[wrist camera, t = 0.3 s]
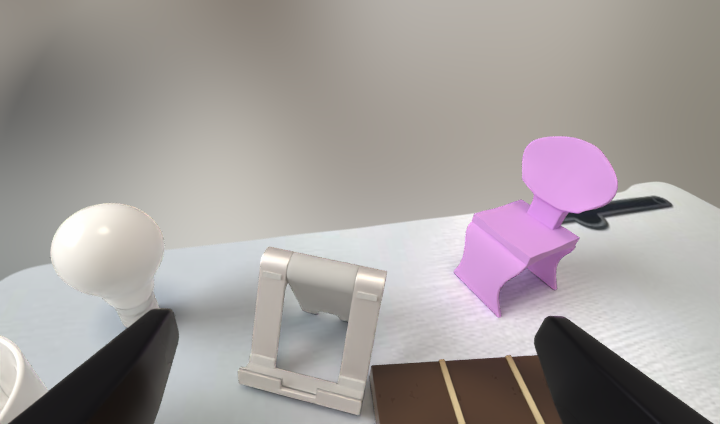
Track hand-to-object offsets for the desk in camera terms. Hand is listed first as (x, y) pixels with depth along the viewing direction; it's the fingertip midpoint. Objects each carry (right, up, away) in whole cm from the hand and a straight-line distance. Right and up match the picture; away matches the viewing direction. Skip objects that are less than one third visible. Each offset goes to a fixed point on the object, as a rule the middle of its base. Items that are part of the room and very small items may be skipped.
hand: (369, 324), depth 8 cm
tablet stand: (-4, -9, +19) cm, 21 cm away
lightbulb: (-18, -6, +20) cm, 28 cm away
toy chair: (+14, -5, +27) cm, 31 cm away
